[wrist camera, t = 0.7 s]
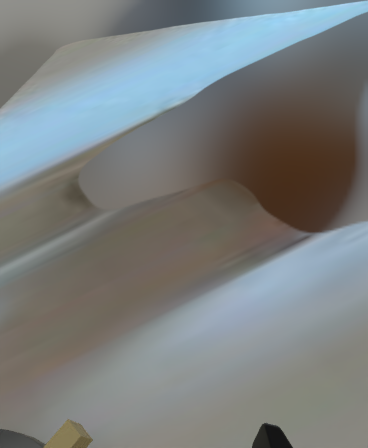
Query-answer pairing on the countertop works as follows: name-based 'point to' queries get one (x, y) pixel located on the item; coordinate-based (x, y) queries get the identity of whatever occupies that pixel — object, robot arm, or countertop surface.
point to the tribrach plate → (18, 440)
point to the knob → (70, 437)
